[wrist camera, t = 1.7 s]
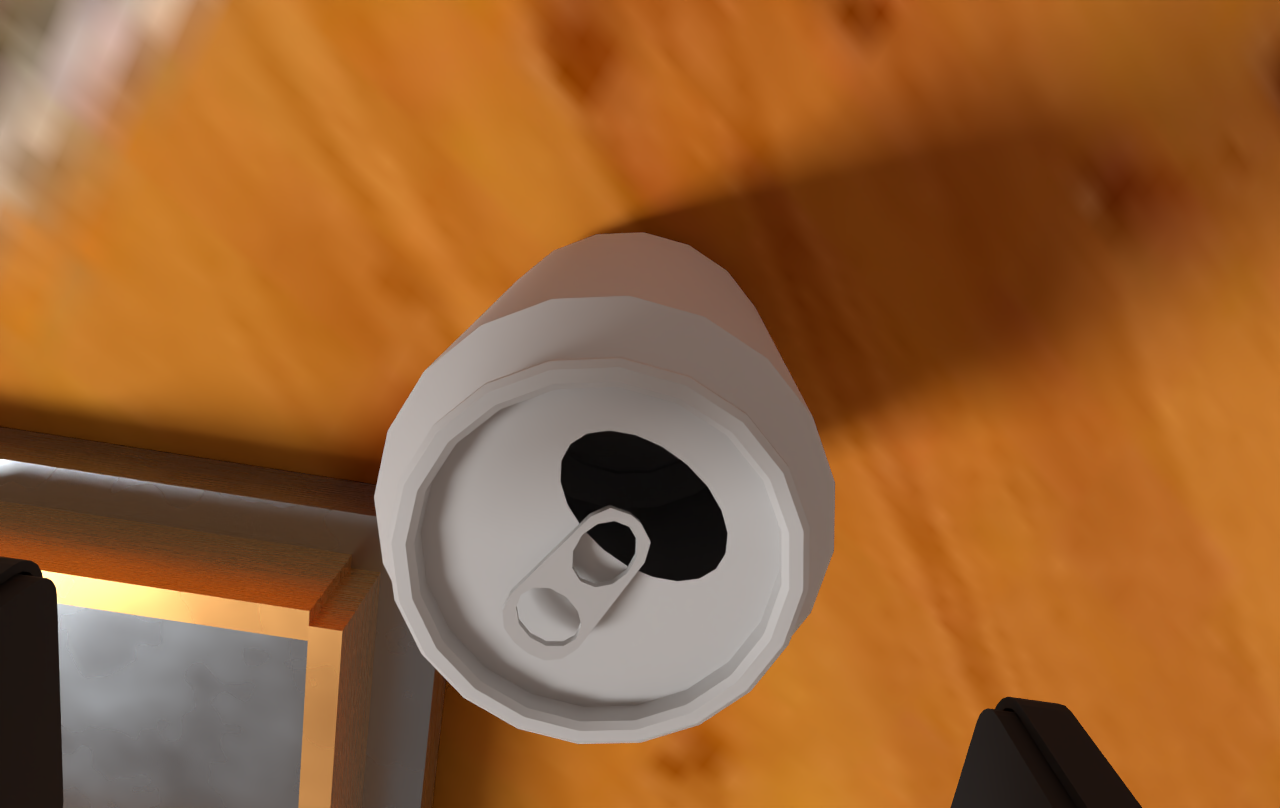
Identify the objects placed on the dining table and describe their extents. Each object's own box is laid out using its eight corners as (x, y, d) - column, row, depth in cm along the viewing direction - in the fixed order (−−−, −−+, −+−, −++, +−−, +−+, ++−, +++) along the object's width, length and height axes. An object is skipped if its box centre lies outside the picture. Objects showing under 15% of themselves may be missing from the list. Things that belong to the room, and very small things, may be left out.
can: (825, 361, 24) (969, 562, 13) (637, 547, 26) (615, 872, 15) (619, 165, 23) (572, 195, 12) (434, 375, 25) (234, 582, 13)
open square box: (465, 498, 26) (419, 581, 21) (420, 914, 30) (374, 1062, 25) (-100, 411, 25) (-278, 475, 21) (-65, 843, 30) (-205, 980, 25)
